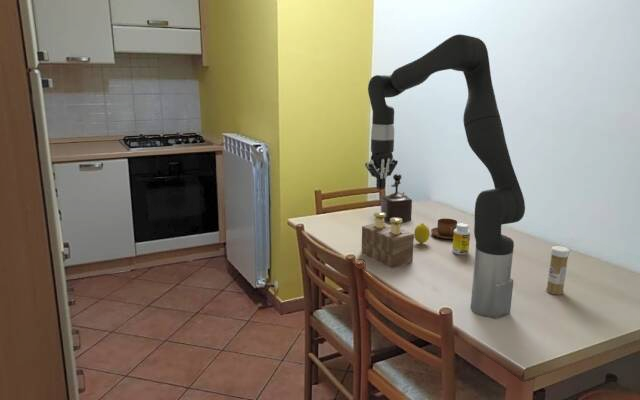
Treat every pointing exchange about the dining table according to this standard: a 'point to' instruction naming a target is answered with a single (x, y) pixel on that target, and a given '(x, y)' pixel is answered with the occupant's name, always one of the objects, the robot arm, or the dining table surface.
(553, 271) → the sprinkles bottle
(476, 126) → the robot arm
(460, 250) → the supplement bottle
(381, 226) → the far peg
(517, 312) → the dining table surface
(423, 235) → the lemon
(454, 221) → the cup and saucer
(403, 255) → the brown wooden block
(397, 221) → the near peg
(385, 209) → the manual coffee grinder
